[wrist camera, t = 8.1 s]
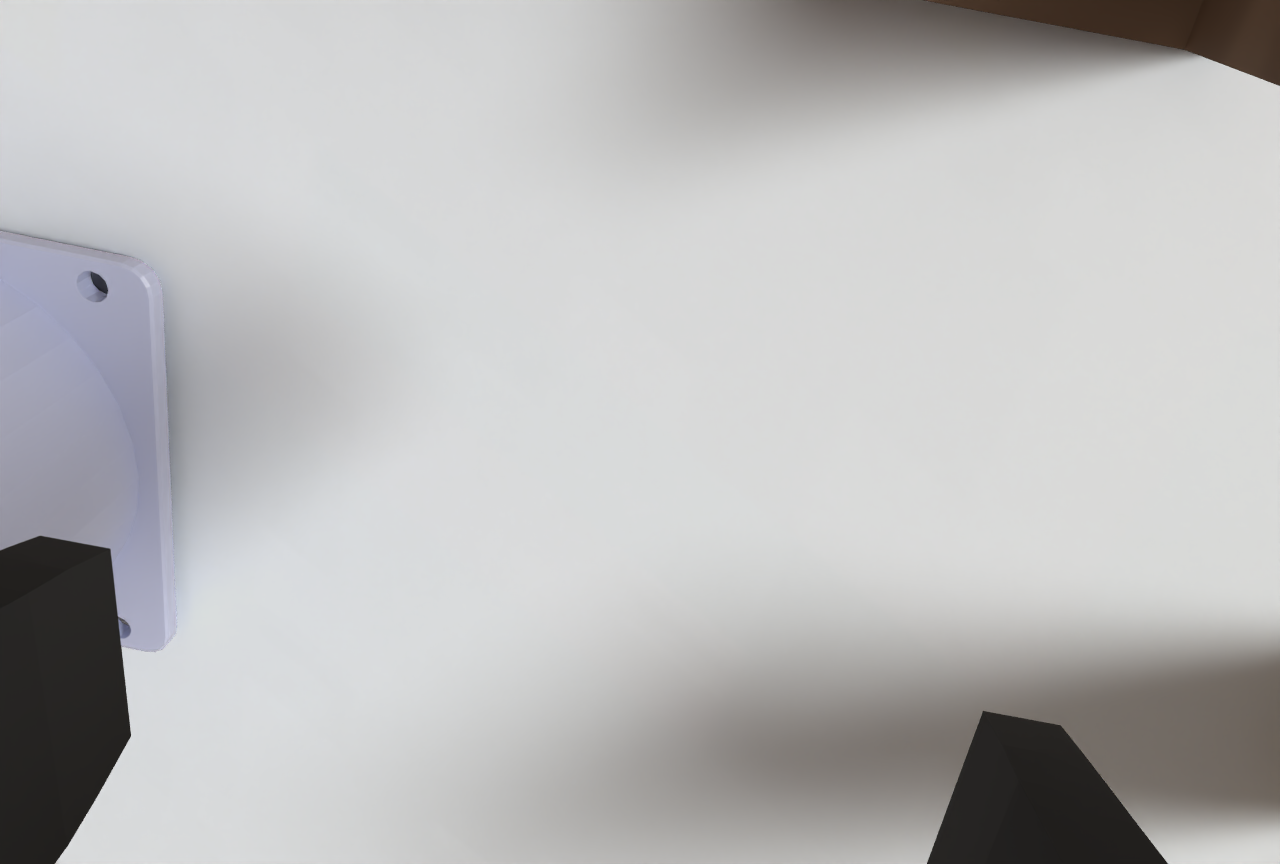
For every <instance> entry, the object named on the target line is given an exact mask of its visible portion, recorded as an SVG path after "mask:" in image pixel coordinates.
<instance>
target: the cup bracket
mask: <svg viewBox="0 0 1280 864" xmlns="http://www.w3.org/2000/svg"><path fill="white" fill-rule="evenodd" d="M925 1H930V2H935V3H940V4H946V5H951V6H956V7H962V8H967V9H972V10H977V11H983V12H988V13H993V14H999V15H1004V16H1009V17H1014V18H1020V19H1025V20H1030V21H1036V22H1041V23H1046V24H1051V25H1057V26H1062V27H1067V28H1073V29H1078V30H1083V31H1088V32H1094V33H1099V34H1104V35H1110V36H1115V37H1120V38H1125V39H1131V40H1136V41H1141V42H1147V43H1152V44H1157V45H1163V46H1168V47H1173V48H1178V49H1184V50H1187V51H1189V52H1192V53H1195V54H1197V55H1200V56H1203V57H1205V58H1208V59H1210V60H1213V61H1216V62H1218V63H1221V64H1224V65H1226V66H1229V67H1231V68H1234V69H1237V70H1239V71H1242V72H1245V73H1247V74H1250V75H1253V76H1255V77H1258V78H1260V79H1263V80H1266V81H1268V82H1271V83H1274V84H1276V85H1279V86H1280V0H925Z"/></svg>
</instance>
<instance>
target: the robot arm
mask: <svg viewBox="0 0 1280 864" xmlns="http://www.w3.org/2000/svg"><path fill="white" fill-rule="evenodd" d="M91 271H92V272H94V273H96V274H98V275H100V276H101V277H102V278H103V279H104V281H105V282H106V284H107V287H108V294H105V293H103V292H101V291H99V290H98V289H97V288H96V287H95V286H94V284H93V282H92V279H91V276H90V275H91ZM118 617H120V618H122V619H124V620H125V621H126V622H127V623H128V624H129V626H128V625H126V624H124V623H122V622H121V621H120V620H119V619H118ZM176 630H177V614H176V591H175V567H174V544H173V520H172V497H171V473H170V450H169V426H168V403H167V379H166V356H165V332H164V309H163V291H162V286H161V282H160V280H159V278H158V276H157V275H156V273H155V272H154V270H153V269H152V268H150V267H149V266H148V265H147V264H146V263H144V262H143V261H140V260H138V259H135V258H133V257H128V256H123V255H118V254H113V253H108V252H103V251H99V250H94V249H89V248H84V247H79V246H74V245H69V244H64V243H59V242H54V241H49V240H44V239H39V238H34V237H29V236H24V235H19V234H14V233H9V232H4V231H0V864H55V863H56V861H57V860H58V858H59V857H60V856H61V854H62V853H63V852H64V850H65V849H66V847H67V846H68V844H69V843H70V841H71V839H72V838H73V836H74V834H75V833H76V831H77V829H78V828H79V826H80V824H81V823H82V821H83V819H84V818H85V816H86V814H87V813H88V811H89V809H90V808H91V806H92V804H93V803H94V801H95V799H96V798H97V796H98V794H99V793H100V791H101V789H102V787H103V785H104V784H105V782H106V780H107V778H108V776H109V775H110V773H111V771H112V769H113V767H114V766H115V764H116V762H117V760H118V758H119V757H120V755H121V753H122V751H123V749H124V748H125V746H126V744H127V742H128V740H129V739H130V737H131V732H130V722H129V713H128V704H127V695H126V686H125V677H124V668H123V658H122V649H121V646H122V647H127V648H131V649H136V650H141V651H146V652H156V651H159V650H162V649H163V648H164V647H165V646H166V645H167V644H168V643H169V642H170V640H171V639H172V638H173V637H174V636H175V634H176ZM927 864H1168V863H1167V862H1166V861H1165V859H1164V858H1163V857H1162V855H1161V854H1160V853H1159V852H1158V850H1157V849H1156V848H1155V846H1154V845H1153V844H1152V843H1151V841H1150V840H1149V839H1148V837H1147V836H1146V835H1145V833H1144V832H1143V831H1142V830H1141V828H1140V827H1139V826H1138V824H1137V823H1136V822H1135V821H1134V819H1133V818H1132V817H1131V815H1130V814H1129V813H1128V811H1127V810H1126V809H1125V807H1124V806H1123V805H1122V804H1121V802H1120V801H1119V800H1118V798H1117V797H1116V796H1115V794H1114V793H1113V792H1112V790H1111V789H1110V788H1109V787H1108V785H1107V784H1106V783H1105V781H1104V780H1103V779H1102V777H1101V776H1100V775H1099V774H1098V772H1097V771H1096V770H1095V768H1094V767H1093V766H1092V764H1091V763H1090V762H1089V761H1088V759H1087V758H1086V757H1085V755H1084V754H1083V753H1082V752H1081V750H1080V749H1079V748H1078V747H1077V745H1076V744H1075V743H1074V742H1073V740H1072V739H1071V738H1070V737H1069V735H1068V734H1067V733H1066V732H1065V730H1064V729H1063V728H1062V727H1061V726H1060V725H1055V724H1050V723H1044V722H1039V721H1034V720H1028V719H1023V718H1018V717H1012V716H1007V715H1001V714H996V713H991V712H985V711H983V713H982V716H981V718H980V721H979V724H978V727H977V729H976V732H975V735H974V737H973V740H972V743H971V746H970V748H969V751H968V754H967V756H966V759H965V762H964V765H963V767H962V770H961V773H960V775H959V778H958V781H957V784H956V786H955V789H954V792H953V794H952V797H951V800H950V803H949V805H948V808H947V811H946V813H945V816H944V819H943V822H942V824H941V827H940V830H939V832H938V835H937V838H936V841H935V843H934V846H933V849H932V851H931V854H930V857H929V860H928V862H927Z"/></svg>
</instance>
